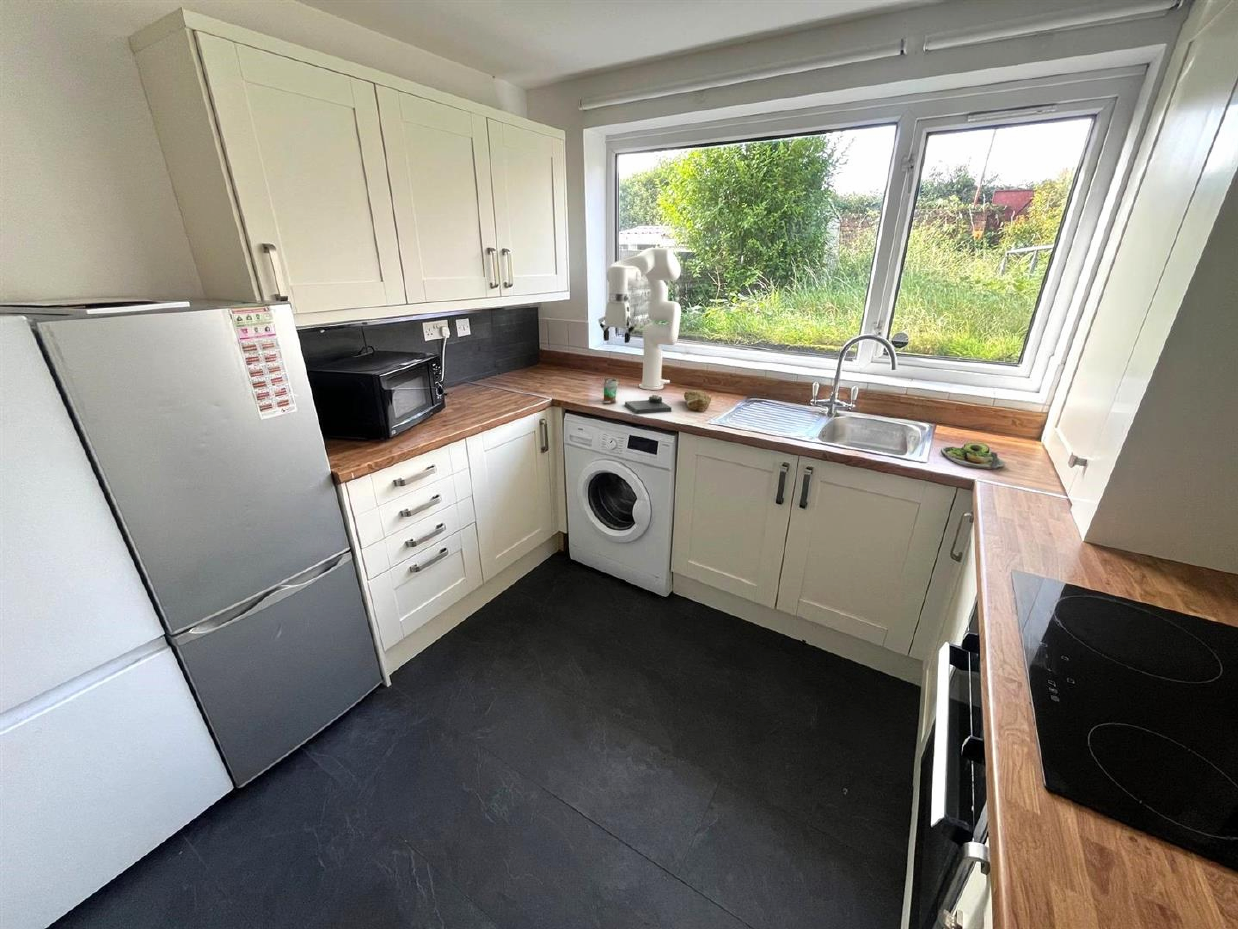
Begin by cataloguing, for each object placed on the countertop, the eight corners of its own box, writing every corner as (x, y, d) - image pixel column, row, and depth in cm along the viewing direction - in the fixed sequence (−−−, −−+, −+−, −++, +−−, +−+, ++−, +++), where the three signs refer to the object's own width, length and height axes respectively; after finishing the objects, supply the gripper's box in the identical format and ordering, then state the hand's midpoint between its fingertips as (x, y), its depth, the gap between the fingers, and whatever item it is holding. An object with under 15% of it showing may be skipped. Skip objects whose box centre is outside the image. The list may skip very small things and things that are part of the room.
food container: (617, 406, 218) (618, 383, 215) (603, 405, 218) (603, 382, 215) (618, 399, 230) (618, 377, 226) (604, 398, 230) (605, 377, 226)
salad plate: (1021, 475, 155) (1026, 461, 154) (959, 470, 158) (963, 456, 156) (989, 454, 173) (993, 442, 171) (934, 450, 176) (937, 437, 174)
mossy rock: (709, 415, 213) (714, 396, 229) (707, 399, 209) (712, 380, 225) (679, 417, 217) (686, 398, 233) (676, 401, 213) (684, 382, 229)
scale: (658, 403, 225) (658, 395, 224) (671, 411, 212) (672, 403, 211) (624, 405, 219) (624, 397, 218) (636, 414, 207) (636, 405, 206)
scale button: (657, 397, 222) (657, 393, 221) (659, 399, 219) (659, 395, 219) (651, 397, 221) (651, 394, 220) (653, 399, 219) (654, 395, 218)
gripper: (641, 299, 202) (639, 342, 208) (603, 297, 209) (602, 338, 215) (633, 300, 196) (631, 344, 202) (594, 297, 203) (594, 340, 209)
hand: (616, 341), depth 208 cm, fingers open, 9 cm apart
